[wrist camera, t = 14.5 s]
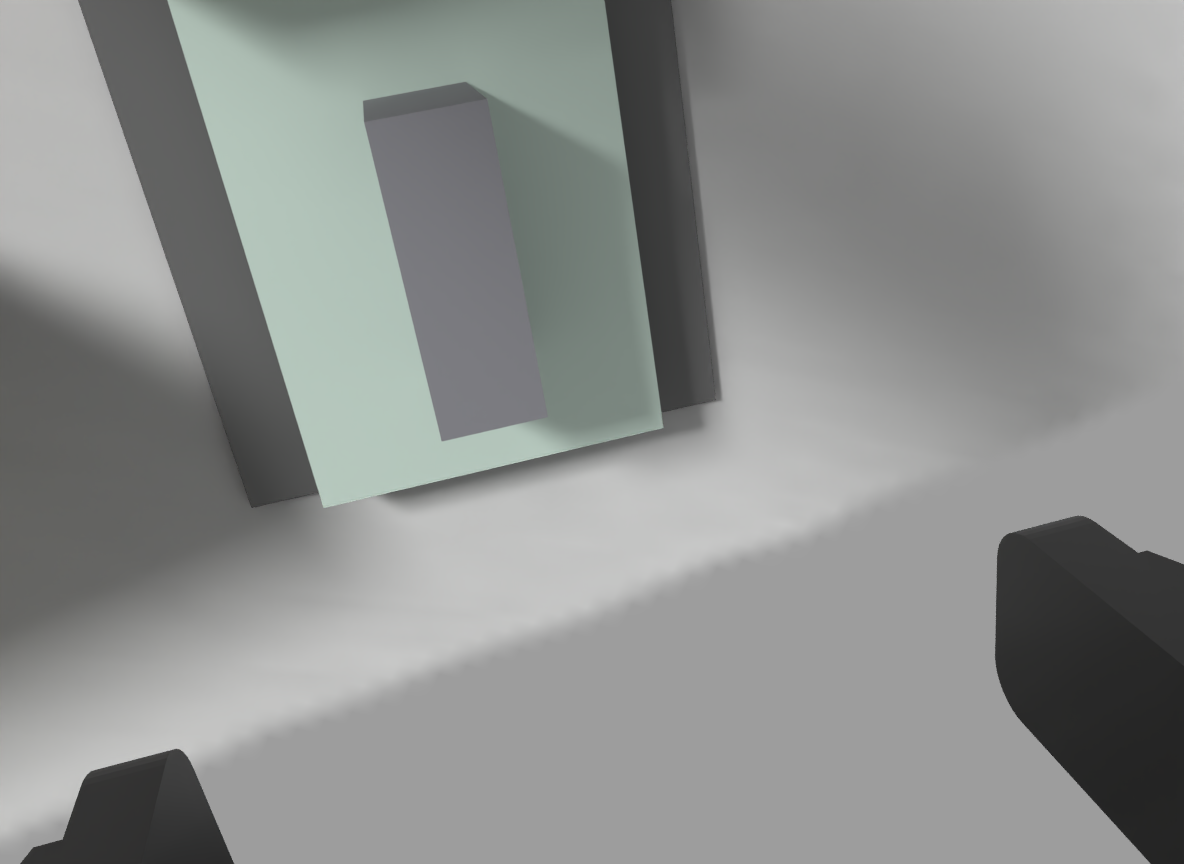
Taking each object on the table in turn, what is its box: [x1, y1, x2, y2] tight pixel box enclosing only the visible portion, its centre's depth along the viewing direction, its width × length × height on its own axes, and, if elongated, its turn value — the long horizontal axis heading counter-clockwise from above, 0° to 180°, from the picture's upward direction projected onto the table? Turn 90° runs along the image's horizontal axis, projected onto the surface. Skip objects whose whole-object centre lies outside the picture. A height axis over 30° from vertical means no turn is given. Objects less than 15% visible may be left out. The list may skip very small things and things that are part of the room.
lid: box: [167, 0, 663, 508], centre depth 28 cm, size 15×11×7 cm
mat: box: [78, 0, 716, 508], centre depth 31 cm, size 16×16×1 cm
